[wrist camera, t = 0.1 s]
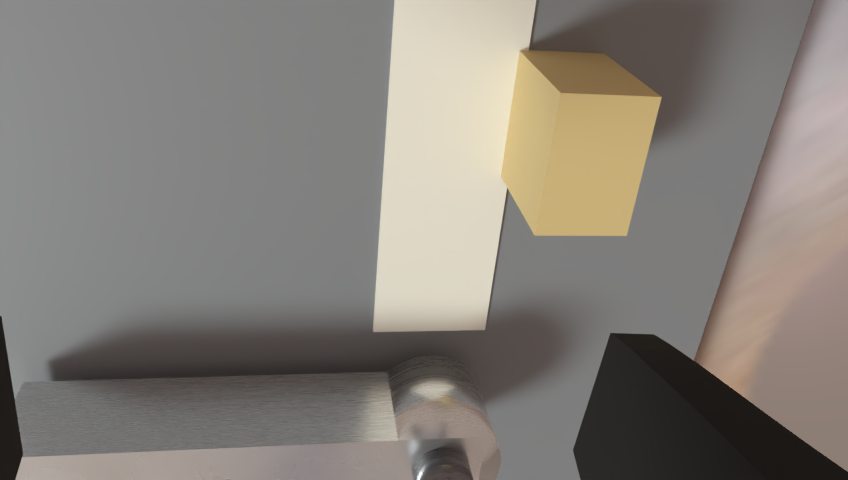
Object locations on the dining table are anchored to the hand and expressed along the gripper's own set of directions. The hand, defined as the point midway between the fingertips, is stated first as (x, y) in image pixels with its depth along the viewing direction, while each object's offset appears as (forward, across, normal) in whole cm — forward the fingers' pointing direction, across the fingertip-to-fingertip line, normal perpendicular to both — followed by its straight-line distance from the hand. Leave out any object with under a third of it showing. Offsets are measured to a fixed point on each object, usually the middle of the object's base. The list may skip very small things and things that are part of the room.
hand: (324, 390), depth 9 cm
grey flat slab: (+10, -2, +3) cm, 11 cm away
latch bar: (+8, +1, +7) cm, 11 cm away
